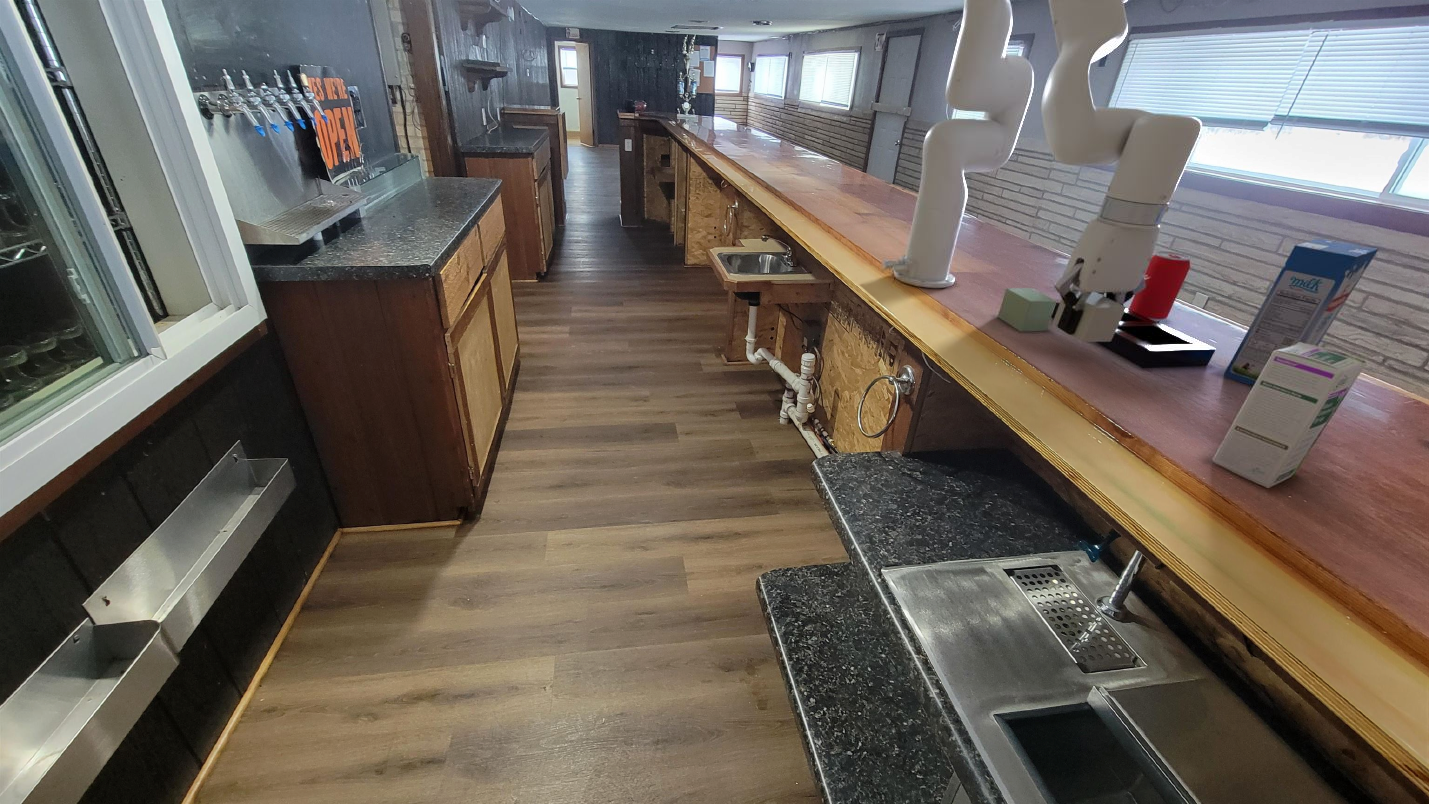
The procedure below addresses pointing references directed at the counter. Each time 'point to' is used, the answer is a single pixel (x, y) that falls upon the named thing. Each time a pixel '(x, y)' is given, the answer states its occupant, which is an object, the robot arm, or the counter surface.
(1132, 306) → the beverage can
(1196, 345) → the frame
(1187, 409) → the counter surface
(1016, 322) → the pale green block
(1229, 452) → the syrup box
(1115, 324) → the light grey block
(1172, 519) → the counter surface
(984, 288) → the counter surface
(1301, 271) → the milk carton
